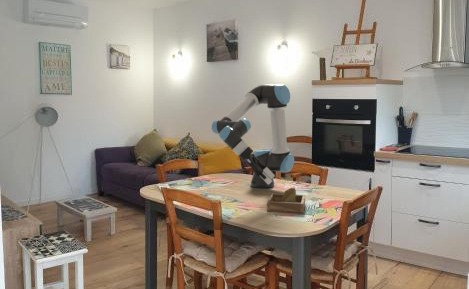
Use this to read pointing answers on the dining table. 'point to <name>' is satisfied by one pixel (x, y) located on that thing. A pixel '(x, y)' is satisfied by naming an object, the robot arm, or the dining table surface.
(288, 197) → the rock
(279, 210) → the crate
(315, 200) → the dining table surface
